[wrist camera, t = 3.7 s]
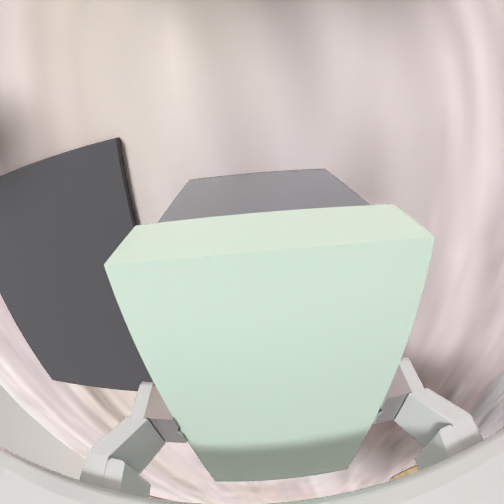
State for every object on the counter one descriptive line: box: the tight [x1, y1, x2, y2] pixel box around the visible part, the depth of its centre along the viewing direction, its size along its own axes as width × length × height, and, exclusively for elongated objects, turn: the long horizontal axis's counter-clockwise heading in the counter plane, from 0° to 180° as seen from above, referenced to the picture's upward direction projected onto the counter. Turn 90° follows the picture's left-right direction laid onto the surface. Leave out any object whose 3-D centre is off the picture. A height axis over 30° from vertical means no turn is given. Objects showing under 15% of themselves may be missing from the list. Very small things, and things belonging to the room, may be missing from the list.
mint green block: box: [104, 204, 435, 481], centre depth 9 cm, size 7×13×3 cm, turn 5°
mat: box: [0, 138, 153, 391], centre depth 15 cm, size 13×17×1 cm
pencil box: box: [158, 169, 370, 223], centre depth 12 cm, size 6×12×6 cm, turn 5°
